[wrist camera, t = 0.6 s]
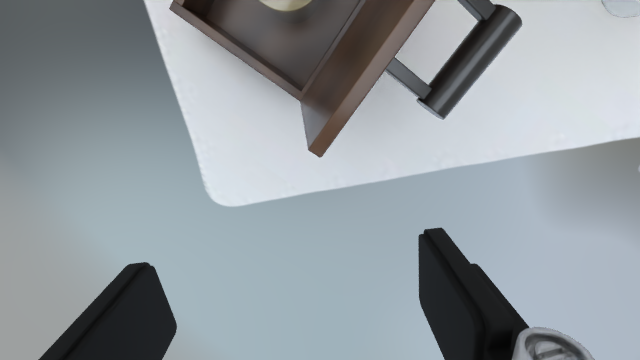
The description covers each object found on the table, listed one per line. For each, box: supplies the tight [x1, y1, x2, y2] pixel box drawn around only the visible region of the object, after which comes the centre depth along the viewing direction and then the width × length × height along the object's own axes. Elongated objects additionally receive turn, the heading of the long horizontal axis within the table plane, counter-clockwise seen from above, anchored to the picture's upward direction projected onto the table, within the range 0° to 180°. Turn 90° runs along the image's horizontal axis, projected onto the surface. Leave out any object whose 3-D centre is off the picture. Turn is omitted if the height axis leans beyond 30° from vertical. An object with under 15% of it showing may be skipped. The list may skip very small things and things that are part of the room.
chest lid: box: [300, 0, 522, 157], centre depth 20 cm, size 14×16×6 cm
